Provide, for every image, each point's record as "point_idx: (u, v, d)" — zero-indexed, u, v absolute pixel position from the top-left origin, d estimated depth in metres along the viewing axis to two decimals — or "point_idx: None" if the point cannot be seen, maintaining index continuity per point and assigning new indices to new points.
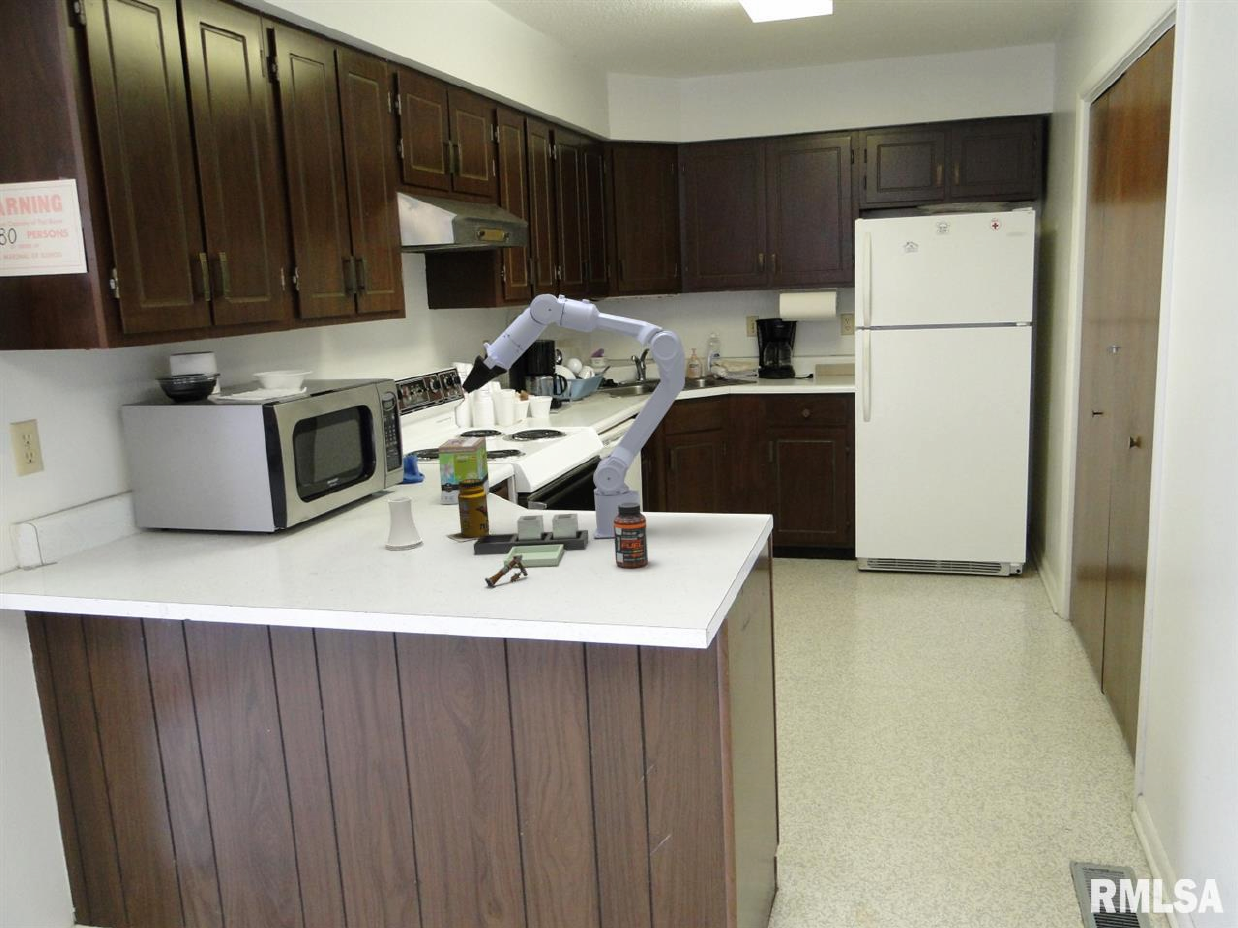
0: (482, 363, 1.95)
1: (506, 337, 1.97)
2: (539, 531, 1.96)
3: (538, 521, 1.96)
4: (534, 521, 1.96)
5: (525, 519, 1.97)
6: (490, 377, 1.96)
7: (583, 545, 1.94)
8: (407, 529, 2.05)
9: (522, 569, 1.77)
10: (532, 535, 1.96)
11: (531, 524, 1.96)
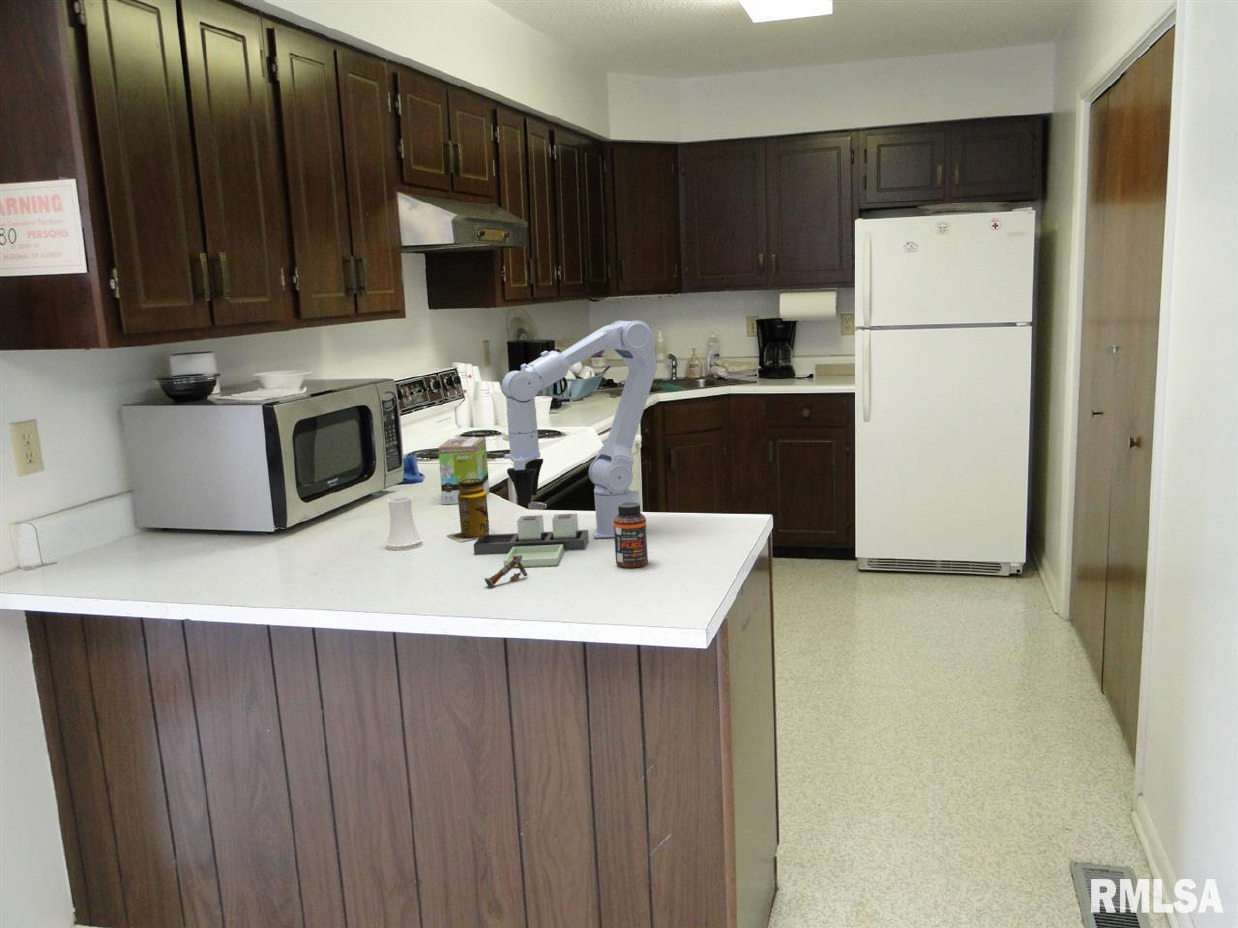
0: (515, 471, 1.90)
1: (513, 435, 1.93)
2: (539, 531, 1.96)
3: (538, 521, 1.96)
4: (534, 521, 1.96)
5: (525, 519, 1.97)
6: (531, 475, 1.91)
7: (583, 545, 1.94)
8: (407, 529, 2.05)
9: (522, 569, 1.77)
10: (532, 535, 1.96)
11: (531, 524, 1.96)
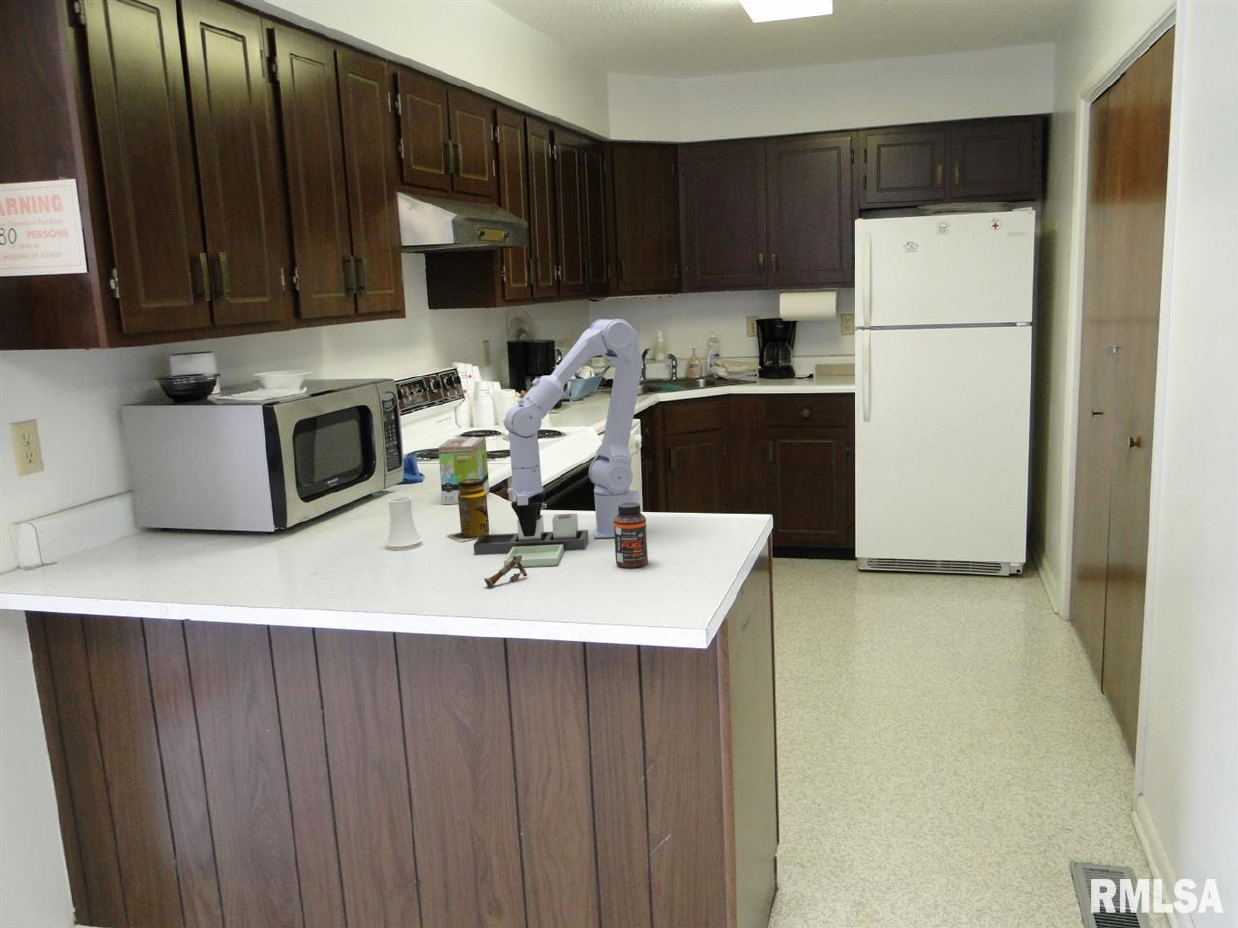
0: (519, 505, 1.93)
1: (516, 470, 1.94)
2: (539, 531, 1.96)
3: (538, 521, 1.96)
4: None
5: None
6: (535, 508, 1.93)
7: (583, 545, 1.94)
8: (407, 529, 2.05)
9: (522, 569, 1.77)
10: None
11: None
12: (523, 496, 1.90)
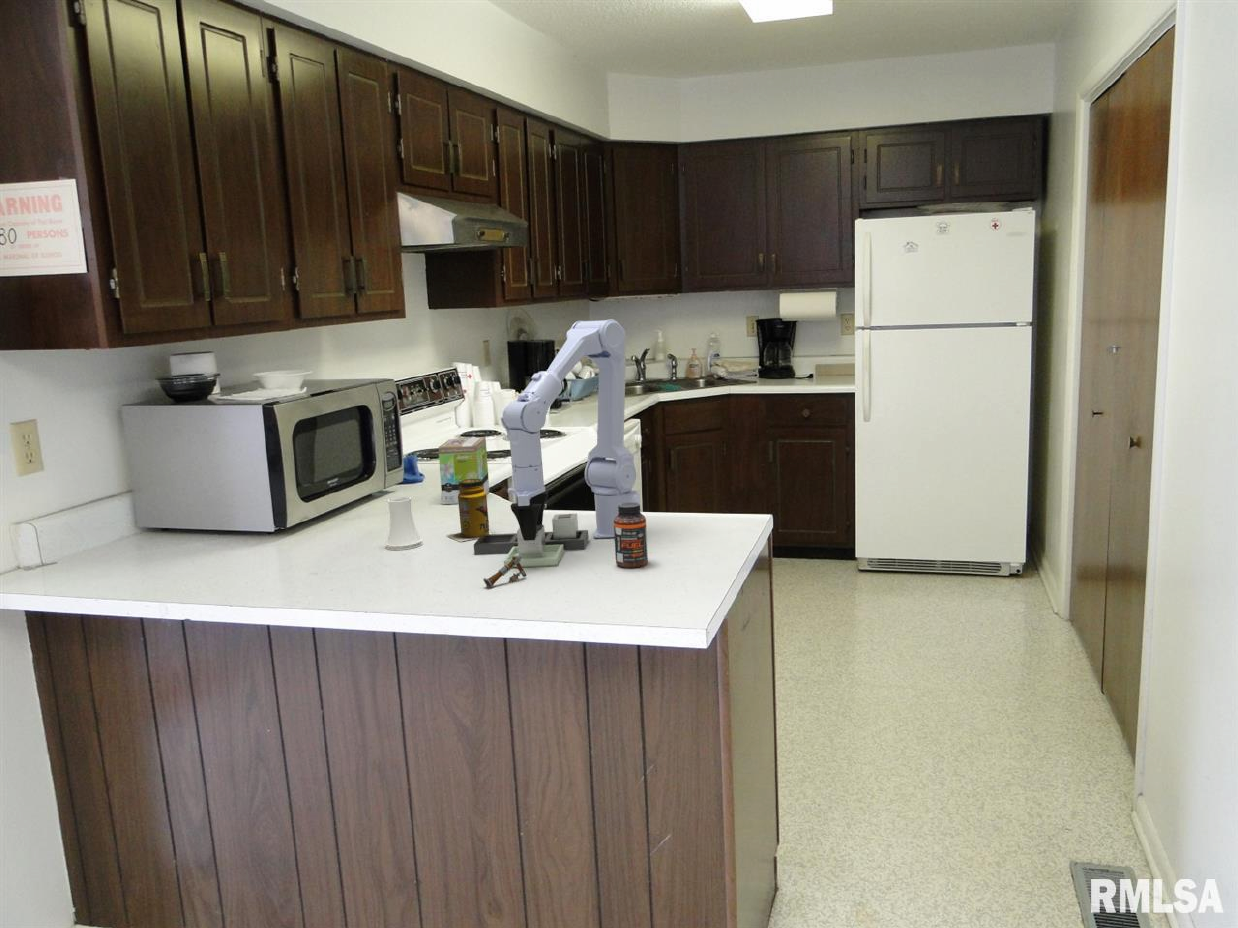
0: (519, 507, 1.81)
1: (517, 469, 1.84)
2: (540, 542, 1.86)
3: (539, 531, 1.86)
4: None
5: None
6: (536, 511, 1.81)
7: (583, 545, 1.94)
8: (407, 529, 2.05)
9: (521, 570, 1.77)
10: (532, 546, 1.86)
11: None
12: (524, 496, 1.80)
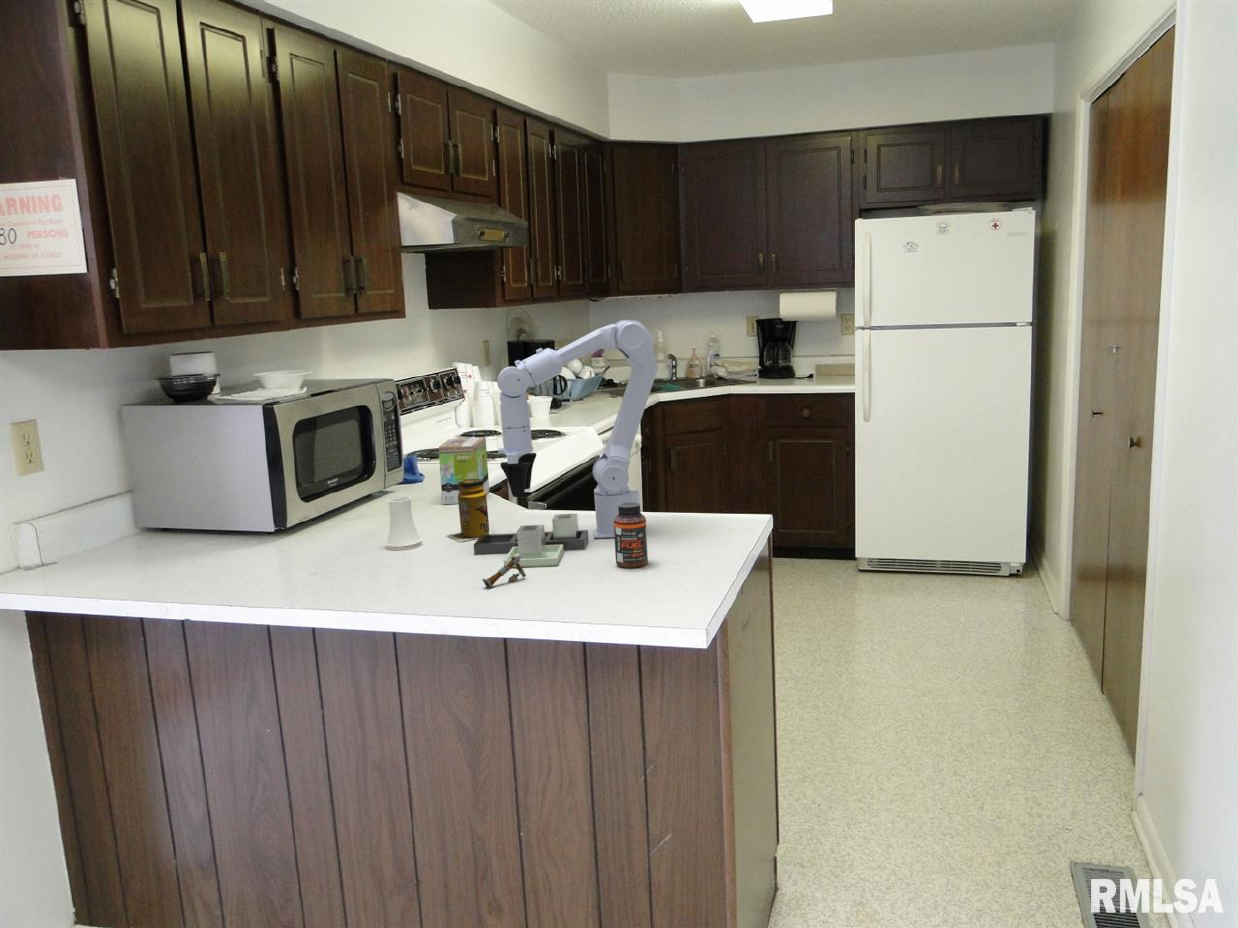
0: (508, 465, 1.94)
1: (506, 430, 1.97)
2: (540, 542, 1.86)
3: (539, 531, 1.86)
4: (535, 531, 1.86)
5: (525, 529, 1.87)
6: (524, 469, 1.95)
7: (583, 545, 1.94)
8: (407, 529, 2.05)
9: (520, 570, 1.76)
10: (532, 546, 1.86)
11: (532, 535, 1.86)
12: (513, 455, 1.93)
